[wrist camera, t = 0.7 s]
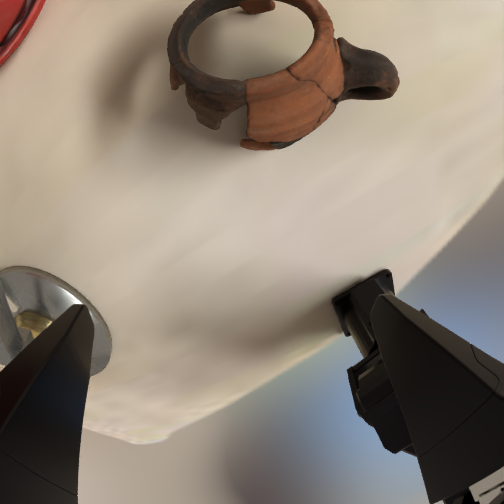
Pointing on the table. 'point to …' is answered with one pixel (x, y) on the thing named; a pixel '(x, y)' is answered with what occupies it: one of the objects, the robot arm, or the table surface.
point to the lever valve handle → (17, 329)
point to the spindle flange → (53, 304)
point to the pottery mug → (280, 78)
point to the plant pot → (16, 23)
